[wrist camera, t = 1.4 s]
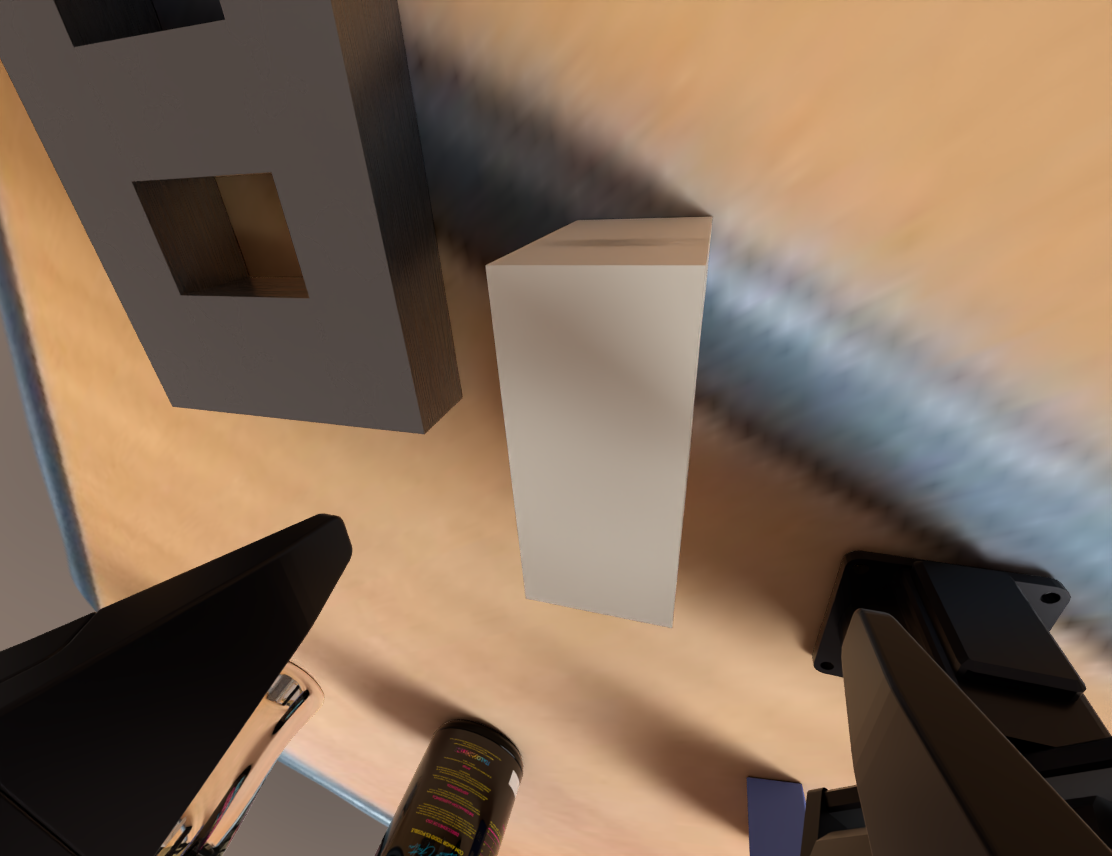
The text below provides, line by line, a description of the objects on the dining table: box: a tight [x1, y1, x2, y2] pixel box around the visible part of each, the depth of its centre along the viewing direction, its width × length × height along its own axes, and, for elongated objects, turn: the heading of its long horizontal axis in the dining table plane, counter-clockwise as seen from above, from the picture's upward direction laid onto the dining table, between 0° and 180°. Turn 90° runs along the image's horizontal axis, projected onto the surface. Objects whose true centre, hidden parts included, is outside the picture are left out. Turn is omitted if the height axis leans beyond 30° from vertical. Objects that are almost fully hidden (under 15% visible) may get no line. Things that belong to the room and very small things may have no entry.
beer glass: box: [155, 662, 324, 856], centre depth 31 cm, size 7×7×15 cm
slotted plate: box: [0, 0, 462, 434], centre depth 15 cm, size 20×12×3 cm, turn 3°
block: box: [485, 217, 713, 628], centre depth 14 cm, size 9×4×7 cm, turn 3°
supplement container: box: [375, 720, 523, 856], centre depth 29 cm, size 7×7×10 cm
